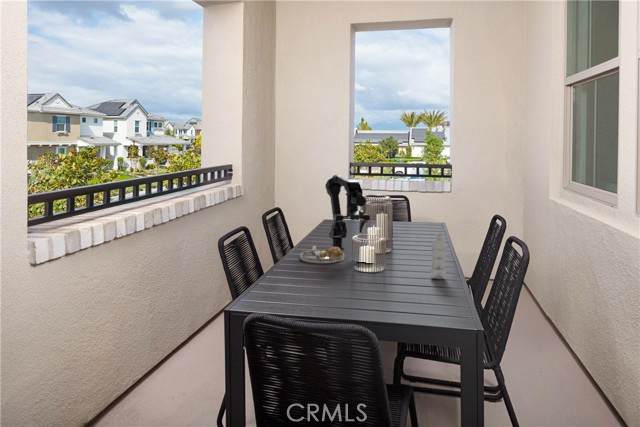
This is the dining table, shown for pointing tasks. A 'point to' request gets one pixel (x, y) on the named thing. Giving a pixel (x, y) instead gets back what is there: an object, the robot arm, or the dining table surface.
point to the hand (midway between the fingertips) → (351, 233)
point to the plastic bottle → (438, 257)
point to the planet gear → (334, 252)
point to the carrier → (320, 256)
